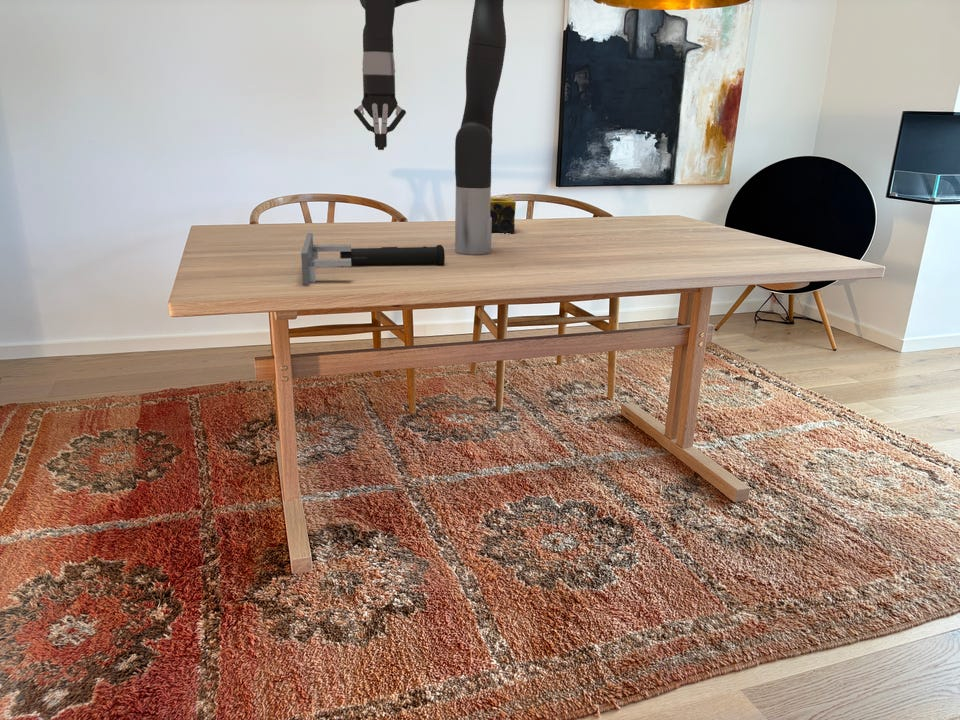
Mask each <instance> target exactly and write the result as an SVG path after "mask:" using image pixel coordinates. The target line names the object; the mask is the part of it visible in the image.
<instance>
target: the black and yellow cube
mask: <svg viewBox="0 0 960 720" xmlns="http://www.w3.org/2000/svg"><path fill="white" fill-rule="evenodd" d="M516 203H517V202H516V201H515V200H514V199H513V198H512V197H492V196H491V201H490V217H491V218H492V228H491V233H504V234H503V235H507V234H506V233H511V234H510V235H514V234H515V226H516V224H515V220H516V219H515V218H516V217H515V216H516V207H517V206H516Z"/></svg>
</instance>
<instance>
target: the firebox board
mask: <svg viewBox="0 0 960 720" xmlns="http://www.w3.org/2000/svg"><path fill="white" fill-rule="evenodd" d="M313 237H314V236H313V233H312V232H306V236H305V240H304V242H303V246H302V250H301V255H300V256H301V270H302V286H304V287H306V286H307V287H309V286H310V280H309V263H308V261H309V259H313V256H312V245H314V239H313Z"/></svg>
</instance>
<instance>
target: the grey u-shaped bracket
mask: <svg viewBox="0 0 960 720" xmlns="http://www.w3.org/2000/svg"><path fill="white" fill-rule="evenodd" d="M351 248H352V244H351V243H350V244H349V243H348V244H343V243H342V244H313V245H312V256H313V259H309V261H308V263H309V280H310V283H311V282H312V283H313V284H314V283H316V282H317V277H316V267H317V268H320V267H321V268H322V267H323V268H325V267H330V268H331V267H334V268H335V267H341V266H343V267H352V266H351V258H341V259H340V258H319V253H323V252H324V253H326V252H327V253H329V252H330V253H331V252H334V253H335V252H339V253H340V252H347V251H351ZM310 283H309V284H310Z"/></svg>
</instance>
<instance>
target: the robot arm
mask: <svg viewBox="0 0 960 720" xmlns="http://www.w3.org/2000/svg"><path fill="white" fill-rule="evenodd" d="M419 1H421V0H359V3H360V5H361V7H362V8H363V9H364V11H365V12H364V13H365V14H364V16H365V17H364V19H365V21H364V22H365V23H364V26H363V30H362V31H363V32H362V52H363V53H362V68H361V69H362V89H363V98H362V100H361V104H360V105H359V106H357V108H354V110H353V114H355V116H356V117H357V118H358V120H359V121H360V122H361V124H362V125H363V126H364V127H365V129H366V130H367V131H368V132H372V133H374V146H375V148H377V150H378V151H384V150H385V148H387V146H388V144H387V143H388V140H387V139H388V138H387V136H388V133H391V132H393V131H394V130H395V129H396V128H397V126H398V124H399V123H400V122H401V121H402V119H403V118H404V116H406V114H407V111H406V110H405V109H403V108H402V107H401V106H399V105H398V101H397V97H396V63H395V58H394V57H395V56H394V33H393V32H394V31H393V30H394V21H395V10H396V8H398V7H401V6H403V5H406V4H410V3H415V2H419ZM472 11H473V12H472V17H471V18H472V19H471V23H470V24H471V25H470V32H469V38H468V46H467V53H466V62H465V63H466V64H465V105H464V109H463V110H464V111H463V115H462V119H461V123H460V124H461V125H460V128H459V129H458V131H457V132H456V135H455V139H454V140H455V141H454V142H455V143H454V176H455V208H454V209H455V212H454V213H455V214H454V215H455V216H454V217H455V222H454V223H455V227H454V229H455V230H454V233H455V234H454V237H455V238H454V252H455V253H457V254H460V255H461V254H462V255H470V256H471V255H473V256H475V255H485V254H491V253H492V234H491V228H492V218H491V217H490V201H491V197H492V195H491V194H492V192H491V190H492V152H493V150H492V148H493V146H492V145H493V121H494V107H495V102H496V97H497V93H498V90H499V85H500V82H501V77H502V74H503V73H502V72H503V69H504V62H505V56H506V55H505V54H506V45H507V32H506V24H505V14H504V0H474V6H473V10H472ZM364 110H365V111H366V113H367V114H368V116H369V117H370V118H371V119H372V123H373V125H371V124H370V123H369V122H368V120H367V119H366V118H365V117H364V115H365V111H364ZM394 111H395V118H394V119H393V120H392V122H391V123H390V124H389V126H388V119H389V118H390V117H391V116H392V114H393V113H394ZM379 119H381V122H379ZM380 123H381V127H380V125H379V124H380Z"/></svg>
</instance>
